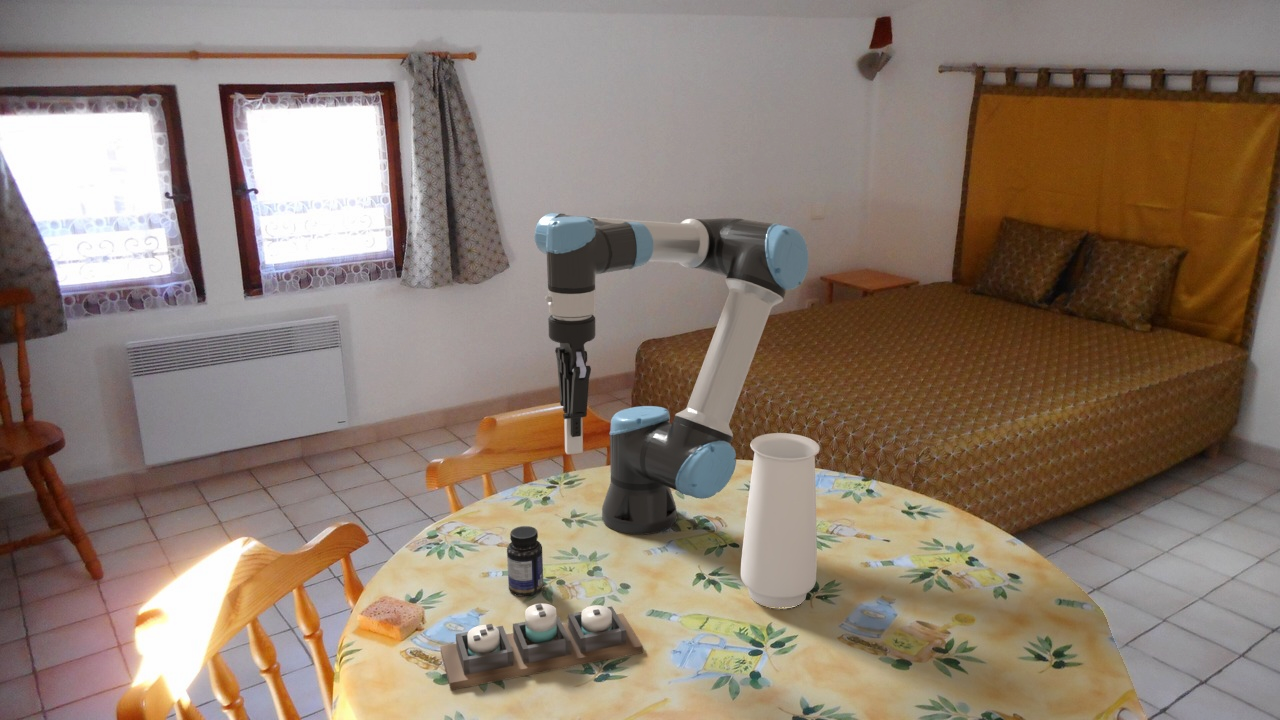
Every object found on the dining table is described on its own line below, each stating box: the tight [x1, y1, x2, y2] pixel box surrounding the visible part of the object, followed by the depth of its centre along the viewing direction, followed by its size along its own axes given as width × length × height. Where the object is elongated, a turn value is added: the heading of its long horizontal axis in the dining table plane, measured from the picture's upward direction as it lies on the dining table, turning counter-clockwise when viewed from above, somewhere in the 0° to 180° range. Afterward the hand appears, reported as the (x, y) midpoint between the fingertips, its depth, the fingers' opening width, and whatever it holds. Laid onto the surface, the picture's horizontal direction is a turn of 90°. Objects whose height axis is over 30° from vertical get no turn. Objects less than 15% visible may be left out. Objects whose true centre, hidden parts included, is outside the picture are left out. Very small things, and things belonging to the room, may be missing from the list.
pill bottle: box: [506, 525, 544, 597], centre depth 171 cm, size 6×6×11 cm
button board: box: [439, 606, 644, 691], centre depth 153 cm, size 30×10×4 cm, turn 109°
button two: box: [524, 603, 557, 643], centre depth 152 cm, size 5×5×4 cm
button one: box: [581, 604, 612, 635], centre depth 155 cm, size 5×5×4 cm
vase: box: [740, 432, 821, 608], centre depth 167 cm, size 13×13×28 cm
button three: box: [467, 623, 500, 656], centre depth 150 cm, size 5×5×4 cm
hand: (573, 451), depth 164 cm, fingers closed
